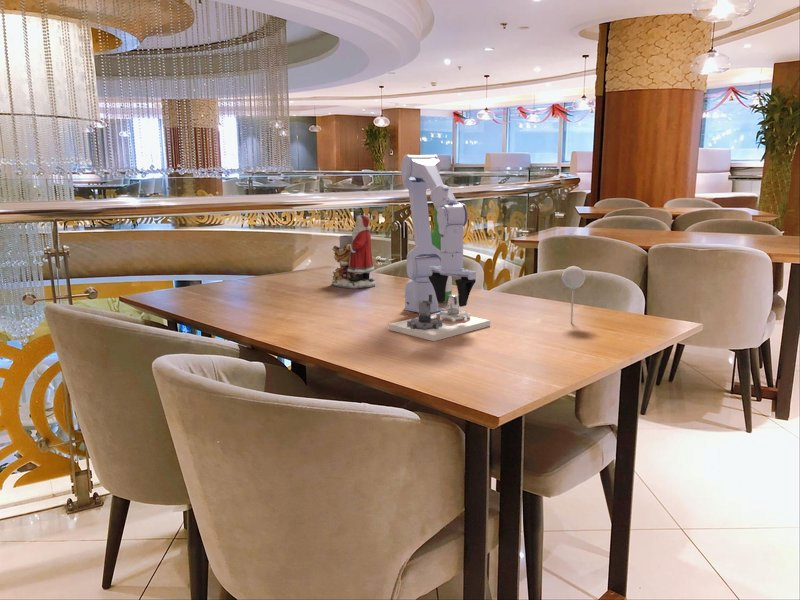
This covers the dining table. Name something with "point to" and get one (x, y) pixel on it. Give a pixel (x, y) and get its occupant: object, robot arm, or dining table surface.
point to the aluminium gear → (453, 311)
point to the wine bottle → (437, 243)
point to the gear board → (441, 328)
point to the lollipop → (573, 280)
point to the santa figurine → (354, 257)
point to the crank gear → (425, 317)
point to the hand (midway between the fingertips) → (451, 303)
